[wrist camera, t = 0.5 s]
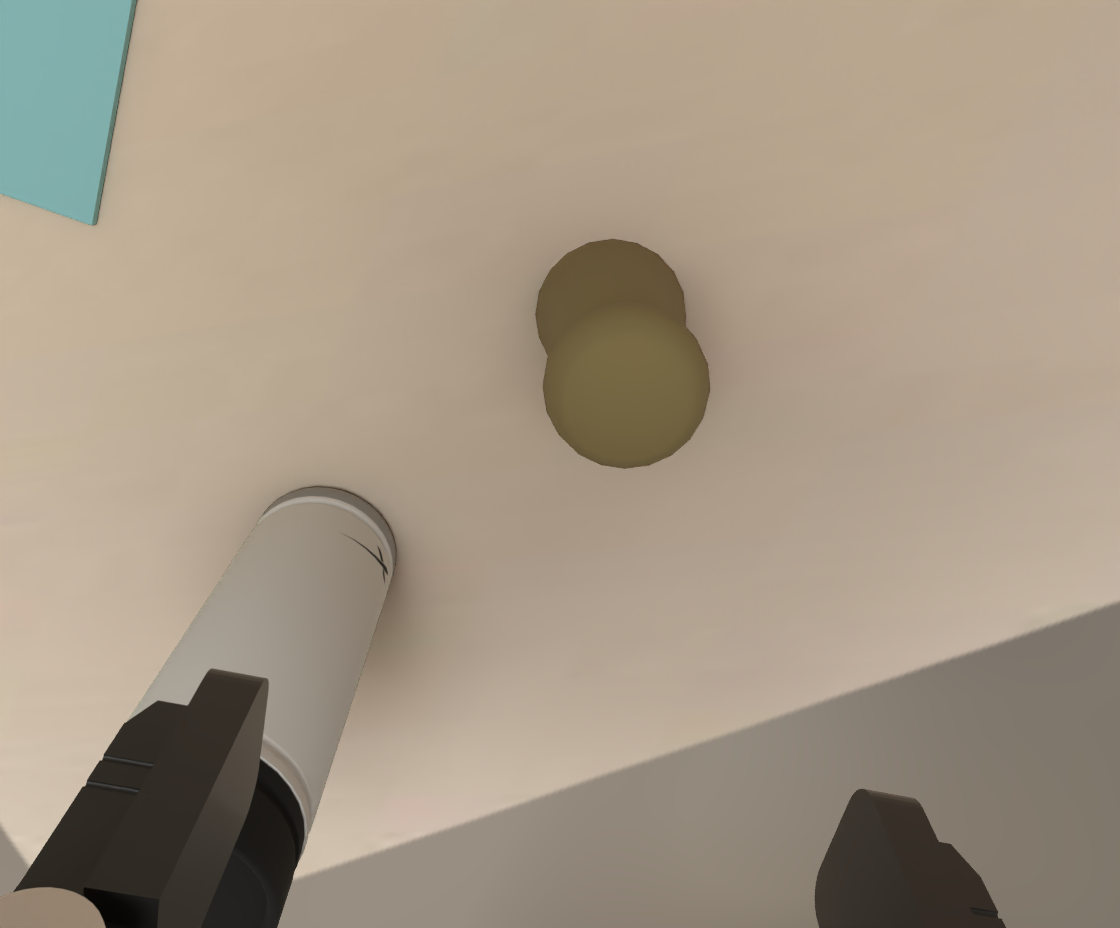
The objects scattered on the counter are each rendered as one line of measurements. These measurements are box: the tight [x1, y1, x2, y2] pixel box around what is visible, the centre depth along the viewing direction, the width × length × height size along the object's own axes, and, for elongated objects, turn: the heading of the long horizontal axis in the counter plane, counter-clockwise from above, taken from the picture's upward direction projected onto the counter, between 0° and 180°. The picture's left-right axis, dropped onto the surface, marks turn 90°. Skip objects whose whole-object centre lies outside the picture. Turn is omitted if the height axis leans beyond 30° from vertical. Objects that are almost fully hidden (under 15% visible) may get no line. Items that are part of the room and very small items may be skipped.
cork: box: [536, 239, 710, 469], centre depth 34 cm, size 6×6×11 cm
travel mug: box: [128, 487, 396, 928], centre depth 33 cm, size 6×7×20 cm
